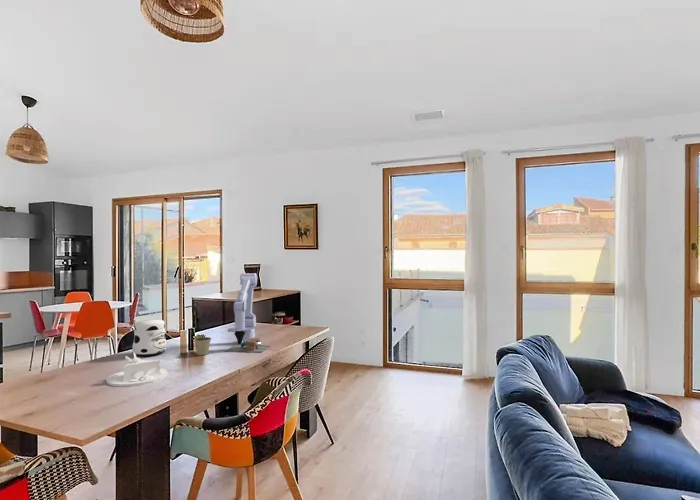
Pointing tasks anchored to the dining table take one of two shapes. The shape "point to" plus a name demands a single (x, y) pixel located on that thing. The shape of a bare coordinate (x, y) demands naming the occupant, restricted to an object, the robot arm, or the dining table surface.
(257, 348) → the hitch block
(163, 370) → the dish
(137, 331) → the milk container
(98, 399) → the dining table surface
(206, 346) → the flower pot
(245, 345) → the pin
